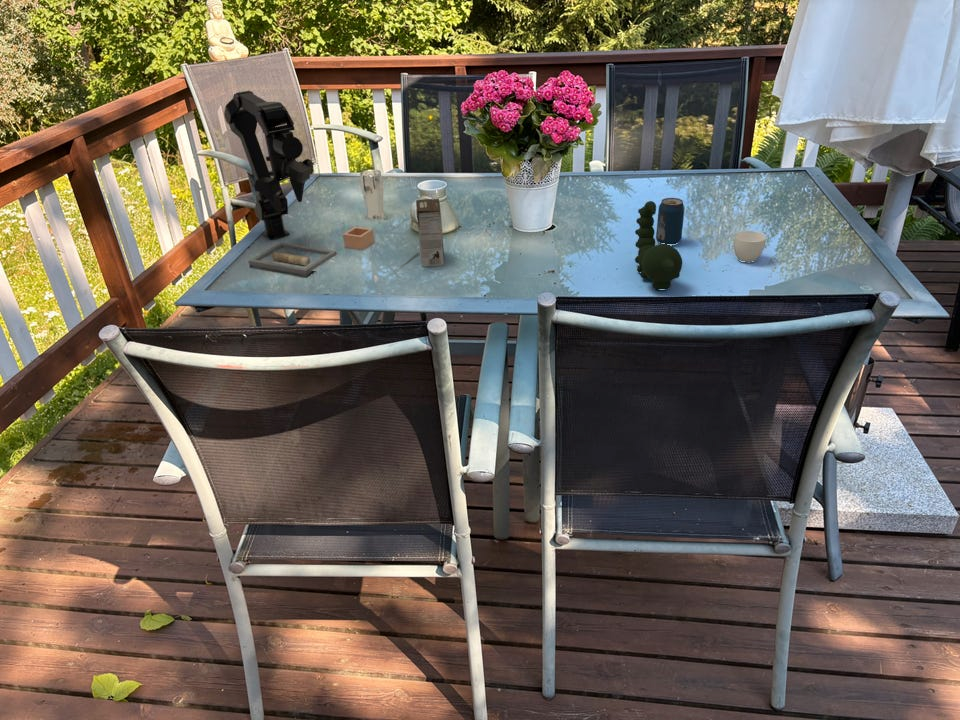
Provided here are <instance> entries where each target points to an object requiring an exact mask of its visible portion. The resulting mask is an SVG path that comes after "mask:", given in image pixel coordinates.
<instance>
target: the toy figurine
mask: <svg viewBox="0 0 960 720" xmlns="http://www.w3.org/2000/svg"><path fill="white" fill-rule="evenodd" d="M656 212H657V205H656V203H655V202H654V201H653V200H649V201H646V203H645V204H644V206H642V207H641V208H638V210H637V213H638V214H639V217H638V218H636V221H635V222H636V224H638V226H639V228H638V229H635V230H634V234H635V235H637V237H638V239H637V241H636V242H635V244H634V245H635V247H636V248H637V249H638V251H637V256H635V258H634V262H635V263H636V264H638V266H637V269H636V271H638V272H641V273H639V275H640V278H641V279H643V280H648V279H649V280H650V281H652V286H653V289H654V288H655V290H656V289H667V290H669V289H670V288H671V285H672V282H671V281H674V280H675V279H678V278H679V277H680V275H681V274H680V272H681V271H682V267H683V258H682V256H681V254H680V251H678V249H676V248H675V247H674V246H670V245H667V244H659V243H658V244H656V238H655V237H654V236H655V228H654V227H653V226H654V223H655V218H654V217H653V216H654V215H655V214H656ZM638 272H637V273H638ZM668 288H669V289H668Z"/></svg>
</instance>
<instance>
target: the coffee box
mask: <svg viewBox="0 0 960 720" xmlns="http://www.w3.org/2000/svg"><path fill="white" fill-rule="evenodd" d="M415 204H416V207H415V208H416V220H417V228H418V229H417V230H418V239H419V247H420V256H421V257H420V258H421V266H422V268H429V267H430V266H431V267H441V266H442V265H444V266H445V251H444V249H445V248H444V238H443V237H444V236H443V235H444V234H443V224H442V212H441V204H440V199H439V198H432V199H431V198H424V199H423V198H422V199H416V201H415ZM431 267H430V268H431ZM442 267H443V266H442Z"/></svg>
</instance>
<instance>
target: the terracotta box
mask: <svg viewBox="0 0 960 720" xmlns="http://www.w3.org/2000/svg"><path fill="white" fill-rule="evenodd" d="M342 237H343V244H344V248H347V249H355V250H361V251H363V250H365V249H366V248H368V247H369V246H371V245H373V244H374V243H375V236H374V229H373V228H365V227H359V226H354V227H352V228H351V229H349V230H348V231H346V232H344V233H343V234H342Z"/></svg>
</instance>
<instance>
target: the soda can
mask: <svg viewBox="0 0 960 720" xmlns="http://www.w3.org/2000/svg"><path fill="white" fill-rule="evenodd" d="M684 217H685V204H684V200H682V199H680V198H678V197H667V198H666V197H665V198H663V199H661V203H660V204H659V205H658V213H657V221H656V222H657V223H656V235H655V240H656V241H657V242H660V243H665V244H676V243H678V242H679V243H680V242H681V240H682V235H683V228H684V227H683V226H684V225H683V224H684ZM679 243H678V244H679Z"/></svg>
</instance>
